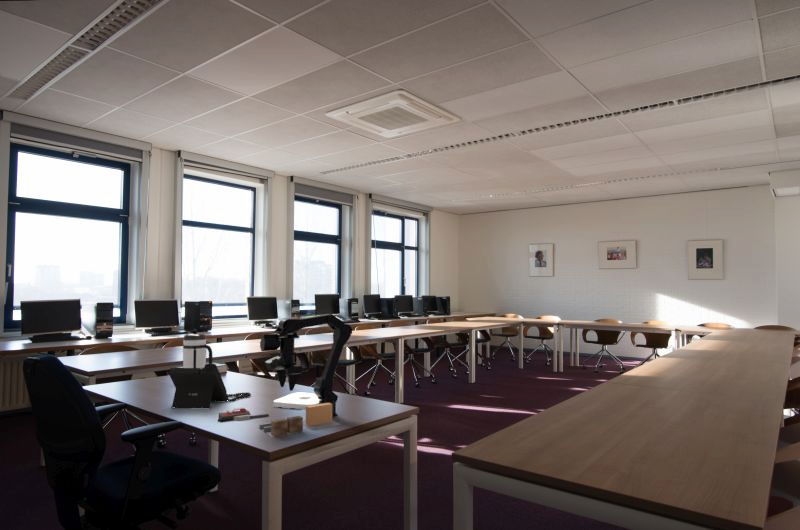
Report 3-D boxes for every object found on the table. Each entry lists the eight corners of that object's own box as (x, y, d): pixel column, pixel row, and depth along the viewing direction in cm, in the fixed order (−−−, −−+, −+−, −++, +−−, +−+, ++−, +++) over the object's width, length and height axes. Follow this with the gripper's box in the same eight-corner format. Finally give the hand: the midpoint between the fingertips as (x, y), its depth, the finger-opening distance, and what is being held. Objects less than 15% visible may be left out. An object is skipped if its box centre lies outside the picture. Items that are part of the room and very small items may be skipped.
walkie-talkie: (218, 425, 194) (269, 418, 203) (218, 414, 194) (269, 408, 204) (215, 420, 201) (264, 414, 211) (215, 409, 202) (264, 403, 211)
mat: (325, 418, 202) (325, 417, 202) (340, 425, 191) (340, 424, 191) (298, 423, 195) (298, 421, 195) (311, 431, 184) (311, 429, 184)
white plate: (313, 411, 215) (313, 405, 215) (270, 407, 222) (270, 401, 222) (336, 400, 236) (336, 394, 236) (295, 397, 243) (295, 391, 243)
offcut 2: (299, 429, 185) (299, 415, 185) (302, 431, 183) (302, 417, 183) (286, 431, 182) (286, 417, 182) (289, 433, 180) (289, 419, 180)
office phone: (253, 395, 247) (253, 355, 248) (230, 409, 219) (231, 364, 220) (196, 395, 249) (197, 354, 249) (166, 408, 220) (167, 363, 221)
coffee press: (178, 384, 274) (179, 330, 275) (181, 379, 289) (182, 328, 290) (212, 382, 279) (212, 329, 281) (213, 377, 294) (213, 327, 296)
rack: (290, 423, 195) (290, 418, 195) (305, 432, 183) (305, 426, 183) (257, 428, 188) (258, 423, 188) (271, 438, 175) (271, 432, 175)
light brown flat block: (328, 420, 197) (328, 402, 197) (332, 421, 194) (332, 404, 195) (305, 424, 191) (305, 406, 192) (308, 426, 189) (308, 407, 189)
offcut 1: (284, 431, 182) (284, 418, 182) (287, 433, 179) (287, 420, 179) (271, 434, 179) (271, 420, 179) (274, 436, 176) (274, 422, 177)
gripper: (259, 348, 202) (258, 387, 201) (276, 353, 186) (276, 395, 186) (285, 346, 208) (284, 384, 207) (303, 351, 193) (303, 391, 192)
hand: (286, 388), depth 198 cm, fingers open, 9 cm apart
